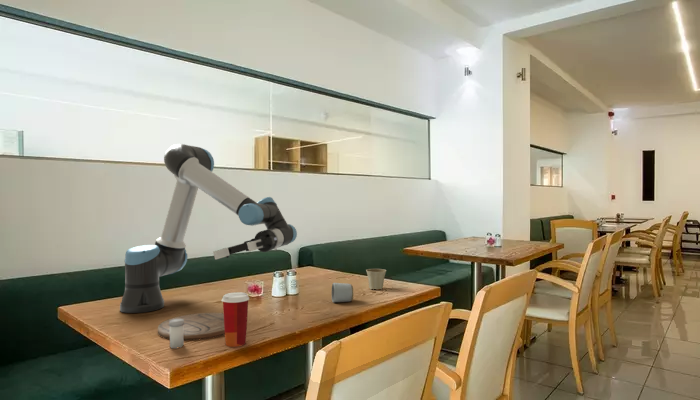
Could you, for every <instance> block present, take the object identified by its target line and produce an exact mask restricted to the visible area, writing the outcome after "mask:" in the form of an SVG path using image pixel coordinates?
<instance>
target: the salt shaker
mask: <svg viewBox="0 0 700 400" xmlns="http://www.w3.org/2000/svg"><path fill="white" fill-rule="evenodd" d="M169 326H170V339H169V348H170V347H171V348H170V349H178V348H177V347H180V348H183V347H184V346H185V345H184V343H185V342H184V341H185V340H184V319H173V320H170V321H169ZM183 345H184V346H183ZM182 346H183V347H182Z"/></svg>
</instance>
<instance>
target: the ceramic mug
mask: <svg viewBox="0 0 700 400" xmlns="http://www.w3.org/2000/svg"><path fill="white" fill-rule="evenodd" d="M353 299H354V287H353V285H352V284H351V283H343V282H342V283H341V282H340V283H339V282H332V286H331V301H332V303H349V302H352V301H353Z"/></svg>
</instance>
